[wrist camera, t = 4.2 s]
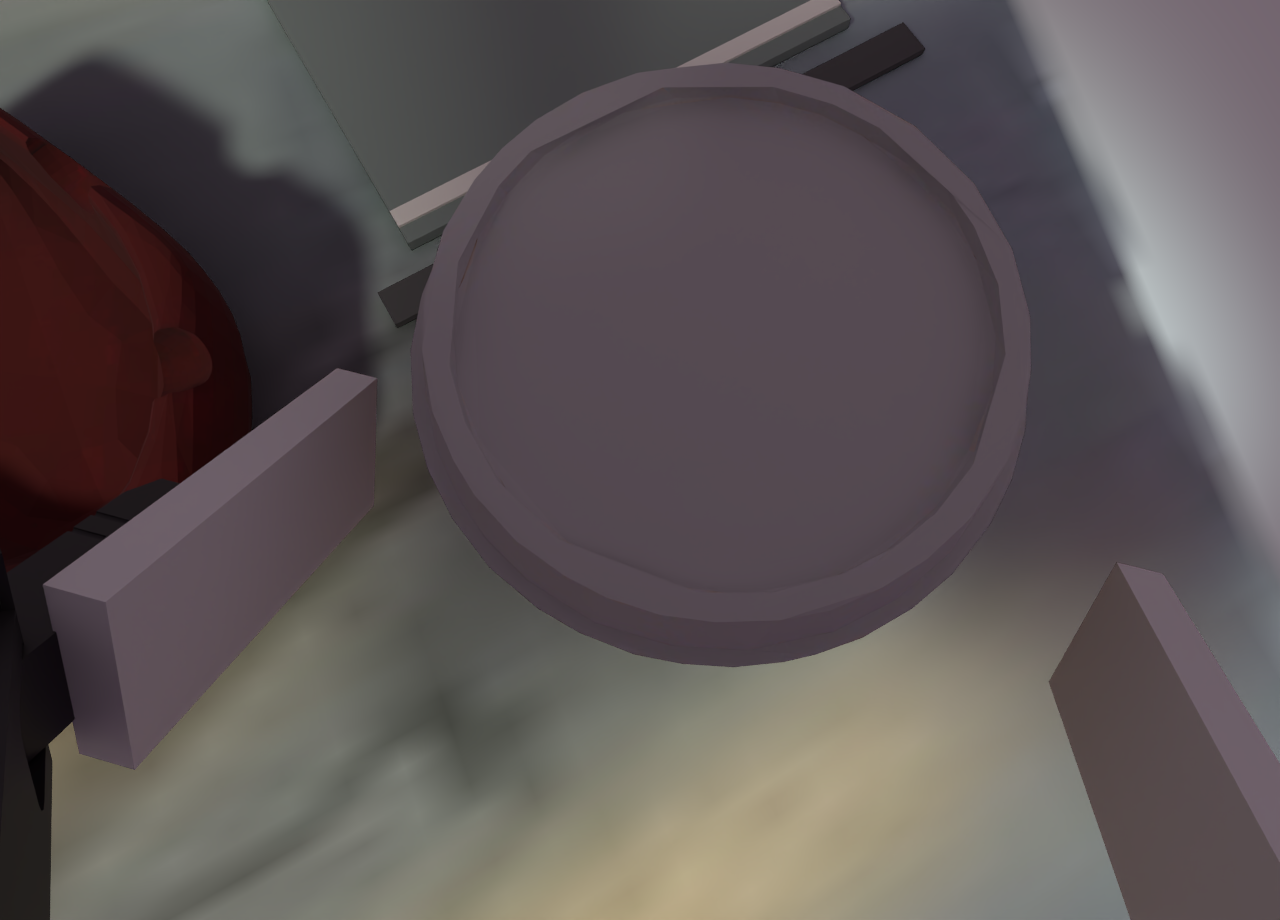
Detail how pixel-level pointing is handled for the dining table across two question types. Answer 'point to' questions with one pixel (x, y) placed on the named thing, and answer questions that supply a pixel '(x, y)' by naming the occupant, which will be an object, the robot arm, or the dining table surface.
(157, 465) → the ashtray
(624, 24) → the mat
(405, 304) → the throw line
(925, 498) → the disposable coffee cup
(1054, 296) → the dining table surface
